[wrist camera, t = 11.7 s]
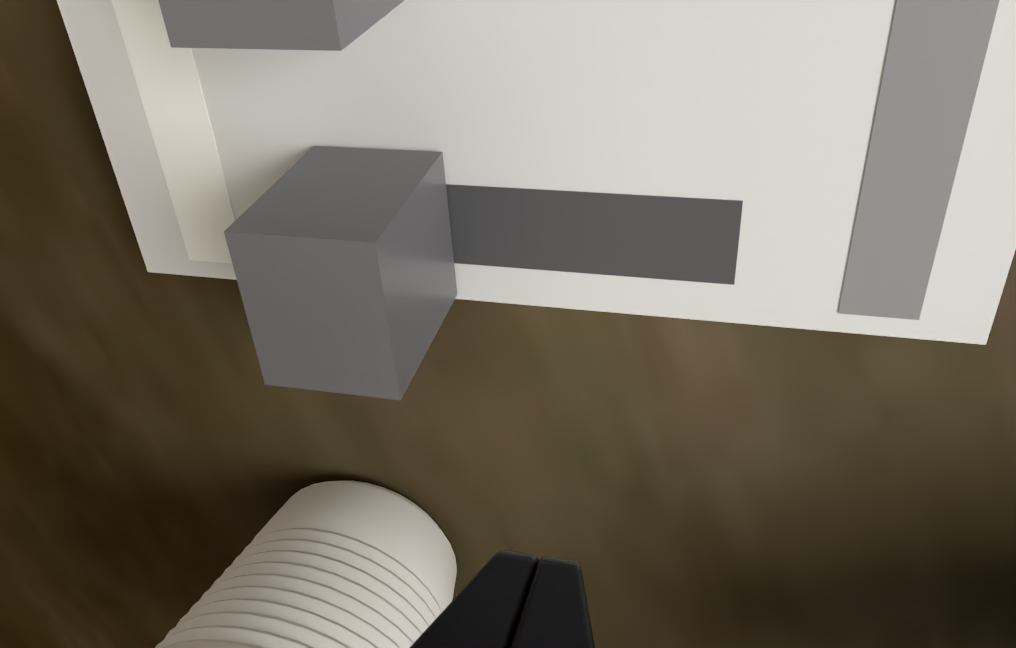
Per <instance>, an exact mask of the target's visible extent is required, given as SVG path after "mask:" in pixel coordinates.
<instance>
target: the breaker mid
mask: <svg viewBox="0 0 1016 648" xmlns="http://www.w3.org/2000/svg"><path fill="white" fill-rule="evenodd" d="M158 1H159V5H160V8H161V12H162V16H163V20H164V23H165V27H166V31H167V34H168V38H169V42H170V45H171V47H173V48H224V49H275V50H325V51H342V50H343V49H344V48H345V47H347V46H348V45H349V44H350V43H352V42H353V41H354V40H355V39H357V38H358V37H359V36H360V35H362V34H363V33H364V32H365V31H367V30H368V29H369V28H370V27H372V26H373V25H374V24H376V23H377V22H378V21H379V20H381V19H382V18H383V17H384V16H386V15H387V14H388V13H389V12H391V11H392V10H393V9H394V8H396V7H397V6H398V5H399V4H401V3H402V2H403V1H404V0H158Z"/></svg>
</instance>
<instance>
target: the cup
mask: <svg viewBox="0 0 1016 648" xmlns="http://www.w3.org/2000/svg"><path fill="white" fill-rule="evenodd" d="M456 574H457V566H456V558H455V555H454V552H453V550H452V547H451V544H450V543H449V541H448V540H447V538H446V536H445V535H444V533H443V532H442V530H441V529H440V528H439V527H438V525H437V524H436V523H435V522H434V521H433V520H432V518H431V517H430V516H429V515H428V514H427V513H426V512H425V511H423V510H422V509H421V508H420V507H418V506H417V505H416V504H415V503H413V502H412V501H410V500H408V499H407V498H405V497H403V496H402V495H400V494H398V493H396V492H393V491H391V490H389V489H386V488H384V487H381V486H377V485H374V484H370V483H365V482H359V481H326V482H321V483H316V484H312V485H310V486H308V487H305V488H303V489H301V490H299V491H298V492H297V493H296V494H294V495H293V496H292V497H290V499H289V500H288V501H287V502H286V503H285V504H284V505H283V506H282V507H281V508H280V510H279V511H278V512H277V513H276V514H275V515H274V516H273V517H272V518H271V519H270V521H269V522H268V523H267V524H266V525H265V526H264V527H263V528H262V529H261V531H260V532H259V533H258V534H257V535H256V536H255V538H254V539H253V541H252V542H251V543H250V544H249V545H248V546H246V547H245V549H244V550H243V552H242V553H241V554H240V555H239V556H238V557H236V558H235V560H234V561H233V563H232V564H231V565H230V566H229V567H228V568H226V569H225V571H224V572H223V574H222V575H221V577H219V578H218V579H217V580H215V582H214V583H213V585H212V586H211V588H210V589H209V590H207V591H206V592H205V593H204V594H203V595H202V597H201V598H200V600H199V601H198V602H197V603H195V604H194V605H193V606H192V607H191V609H190V610H189V612H188V613H187V614H186V615H185V616H183V617H182V618H181V619H180V621H179V622H178V624H177V625H176V627H175V628H173V629H172V630H170V631H169V633H168V634H167V636H166V637H165V639H164V640H163V641H162V642H160V643H159V644H158V645H157V646H156V647H155V648H410V647H411V645H412V644H413V643H414V642H415V641H416V640H417V639H418V638H419V637H420V636H421V635H422V633H423V632H424V631H425V630H426V629H427V628H428V627H429V626H430V625H431V624H432V623H433V621H434V620H435V619H436V618H437V617H438V616H439V615H440V614H441V613H442V612H443V611H444V609H445V608H446V607H447V606H448V605H449V604H450V603H451V602H452V599H453V593H454V587H455V580H456Z"/></svg>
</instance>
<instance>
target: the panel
mask: <svg viewBox="0 0 1016 648" xmlns="http://www.w3.org/2000/svg"><path fill="white" fill-rule="evenodd" d="M57 3H58V6H59V9H60V12H61V15H62V18H63V21H64V24H65V27H66V30H67V33H68V36H69V38H70V41H71V44H72V47H73V50H74V53H75V56H76V59H77V62H78V65H79V68H80V71H81V74H82V77H83V80H84V83H85V86H86V89H87V92H88V95H89V98H90V101H91V104H92V107H93V110H94V113H95V116H96V119H97V122H98V125H99V128H100V131H101V134H102V137H103V140H104V143H105V146H106V149H107V152H108V155H109V158H110V161H111V164H112V167H113V170H114V173H115V176H116V179H117V182H118V185H119V188H120V191H121V193H122V196H123V199H124V202H125V205H126V208H127V211H128V214H129V217H130V220H131V223H132V226H133V229H134V232H135V235H136V238H137V241H138V244H139V247H140V250H141V253H142V256H143V259H144V262H145V265H146V268H147V271H148V272H153V273H165V274H176V275H188V276H199V277H211V278H222V279H234V280H237V279H236V275H235V271H234V268H233V264H232V260H231V257H230V253H229V249H228V246H227V242H226V238H225V235H224V231H225V230H226V229H227V228H228V227H229V226H230V225H231V224H232V223H233V222H234V221H235V220H236V219H238V218H239V217H240V216H241V215H242V214H243V213H244V212H245V211H246V210H247V209H248V208H249V207H250V206H251V205H252V204H253V203H254V202H255V201H256V200H257V199H258V198H260V197H261V196H262V195H263V194H264V193H265V192H266V191H267V190H268V189H269V188H270V187H271V186H272V185H273V184H274V183H275V182H276V181H277V180H278V179H279V178H280V177H281V176H283V175H284V174H285V173H286V172H287V171H288V170H289V169H290V168H291V167H292V166H293V165H294V164H295V163H296V162H297V161H298V160H299V159H300V158H301V157H302V156H303V155H304V154H306V153H307V152H308V151H309V150H310V149H311V148H312V147H313V146H325V147H346V148H368V149H389V150H410V151H432V152H443V162H444V171H445V181H446V190H447V200H448V209H449V219H450V228H451V238H452V247H453V257H454V266H455V276H456V285H457V296H456V298H455V299H464V300H476V301H487V302H499V303H511V304H522V305H534V306H545V307H557V308H568V309H580V310H591V311H603V312H614V313H626V314H637V315H649V316H660V317H672V318H684V319H695V320H707V321H718V322H730V323H741V324H753V325H764V326H776V327H787V328H799V329H810V330H822V331H833V332H845V333H856V334H868V335H880V336H891V337H903V338H914V339H926V340H937V341H949V342H960V343H972V344H983V345H986V343H987V339H988V336H989V333H990V330H991V327H992V323H993V320H994V317H995V314H996V310H997V307H998V304H999V301H1000V297H1001V294H1002V291H1003V288H1004V285H1005V281H1006V278H1007V275H1008V272H1009V268H1010V265H1011V262H1012V259H1013V255H1014V252H1015V249H1016V0H404V1H403V2H402V3H401V4H399V5H398V6H397V7H396V8H394V9H393V10H392V11H391V12H389V13H388V14H387V15H386V16H384V17H383V18H382V19H381V20H379V21H378V22H377V23H376V24H374V25H373V26H372V27H370V28H369V29H368V30H367V31H365V32H364V33H363V34H362V35H360V36H359V37H358V38H357V39H355V40H354V41H353V42H352V43H350V44H349V45H348V46H347V47H345V48H344V49H343V50H342V51H325V50H275V49H224V48H173V47H171V45H170V42H169V38H168V34H167V31H166V27H165V23H164V20H163V16H162V12H161V8H160V5H159V1H158V0H57Z"/></svg>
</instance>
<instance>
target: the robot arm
mask: <svg viewBox="0 0 1016 648" xmlns="http://www.w3.org/2000/svg"><path fill="white" fill-rule="evenodd" d="M410 648H595V646H594V640H593V634H592V628H591V622H590V617H589V611H588V605H587V599H586V593H585V587H584V581H583V575H582V570H581V566H580V565H579V563H578V562H576V561H573V560H567V559H560V558H554V557H543V558H541V559H540V561H539V559H538V557H536V556H535V555H533V554H528V553H521V552H514V551H508V550H502V551H500V552H498V553H496V554H495V555H494V556H493V557H492V558H491V559H490V560H489V561H488V563H487V564H486V565H485V566H484V567H483V568H482V569H481V570H480V571H479V572H478V573H477V575H476V576H475V577H474V578H473V579H472V580H471V581H470V582H469V583H468V584H467V585H466V587H465V588H464V589H463V590H462V591H461V592H460V593H459V594H458V595H457V596H456V597H455V599H454V600H453V601H452V602H451V603H450V604H449V605H448V606H447V607H446V608H445V609H444V611H443V612H442V613H441V614H440V615H439V616H438V617H437V618H436V619H435V620H434V621H433V623H432V624H431V625H430V626H429V627H428V628H427V629H426V630H425V631H424V632H423V633H422V635H421V636H420V637H419V638H418V639H417V640H416V641H415V642H414V643H413V644H412V645H411V647H410Z"/></svg>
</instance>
